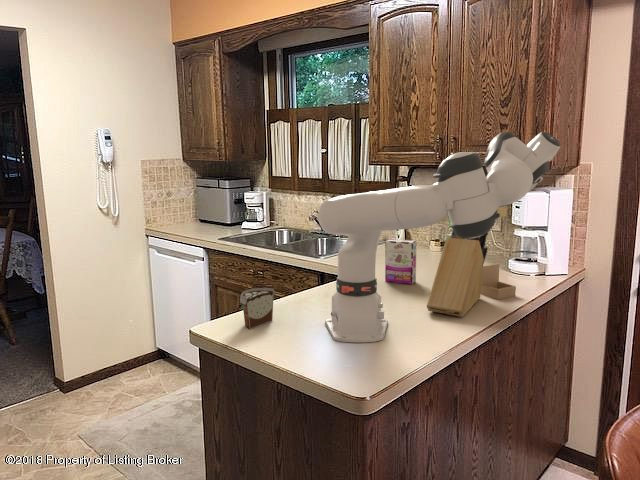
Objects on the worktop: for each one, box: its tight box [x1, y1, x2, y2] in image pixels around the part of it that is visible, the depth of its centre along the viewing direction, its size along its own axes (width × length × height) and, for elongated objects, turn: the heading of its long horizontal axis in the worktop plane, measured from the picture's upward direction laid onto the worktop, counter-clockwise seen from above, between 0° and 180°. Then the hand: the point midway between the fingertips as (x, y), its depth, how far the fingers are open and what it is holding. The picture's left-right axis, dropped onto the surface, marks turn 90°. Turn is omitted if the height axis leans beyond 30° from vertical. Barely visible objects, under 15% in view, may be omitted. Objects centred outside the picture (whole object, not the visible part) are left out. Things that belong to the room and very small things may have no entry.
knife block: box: [426, 231, 489, 317], centre depth 175 cm, size 11×35×31 cm, turn 150°
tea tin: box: [497, 204, 508, 218], centre depth 183 cm, size 5×5×10 cm
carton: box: [480, 263, 517, 300], centre depth 186 cm, size 8×8×10 cm
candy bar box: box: [384, 238, 417, 286], centre depth 204 cm, size 11×5×16 cm, turn 62°
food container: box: [239, 287, 276, 330], centre depth 160 cm, size 12×6×10 cm, turn 141°
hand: (496, 200), depth 183 cm, fingers closed on tea tin, 5 cm apart
